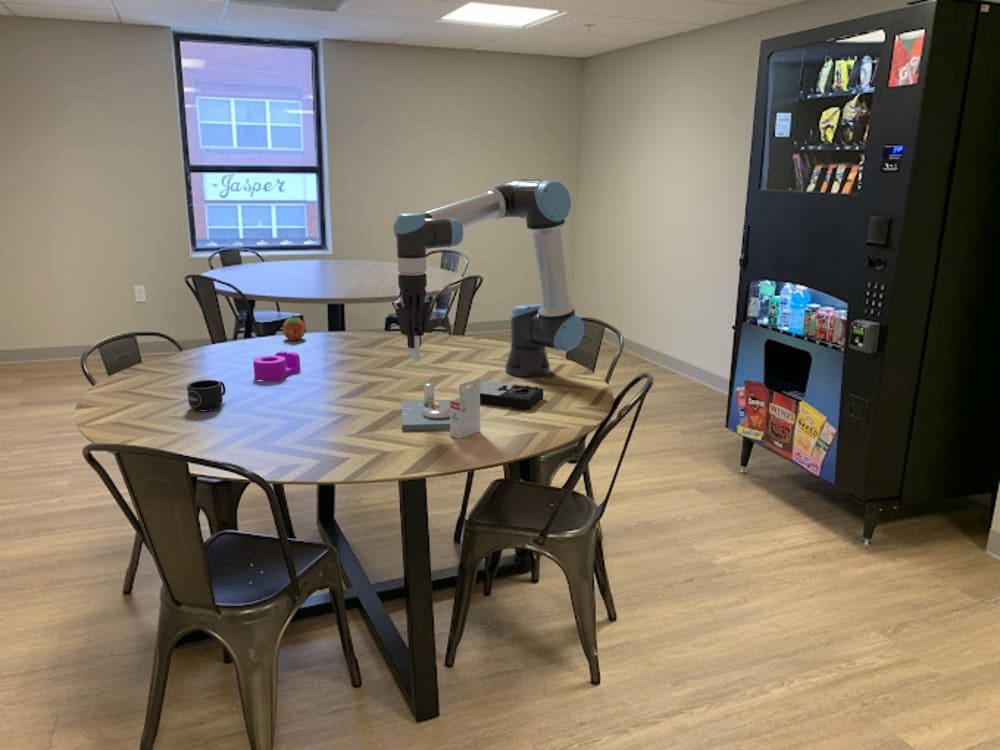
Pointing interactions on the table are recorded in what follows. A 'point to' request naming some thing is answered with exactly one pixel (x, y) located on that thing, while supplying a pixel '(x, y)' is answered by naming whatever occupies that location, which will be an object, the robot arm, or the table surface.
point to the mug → (205, 394)
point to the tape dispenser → (276, 366)
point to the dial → (433, 405)
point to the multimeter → (509, 395)
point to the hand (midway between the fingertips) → (414, 358)
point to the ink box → (465, 411)
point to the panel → (416, 421)
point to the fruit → (294, 328)
